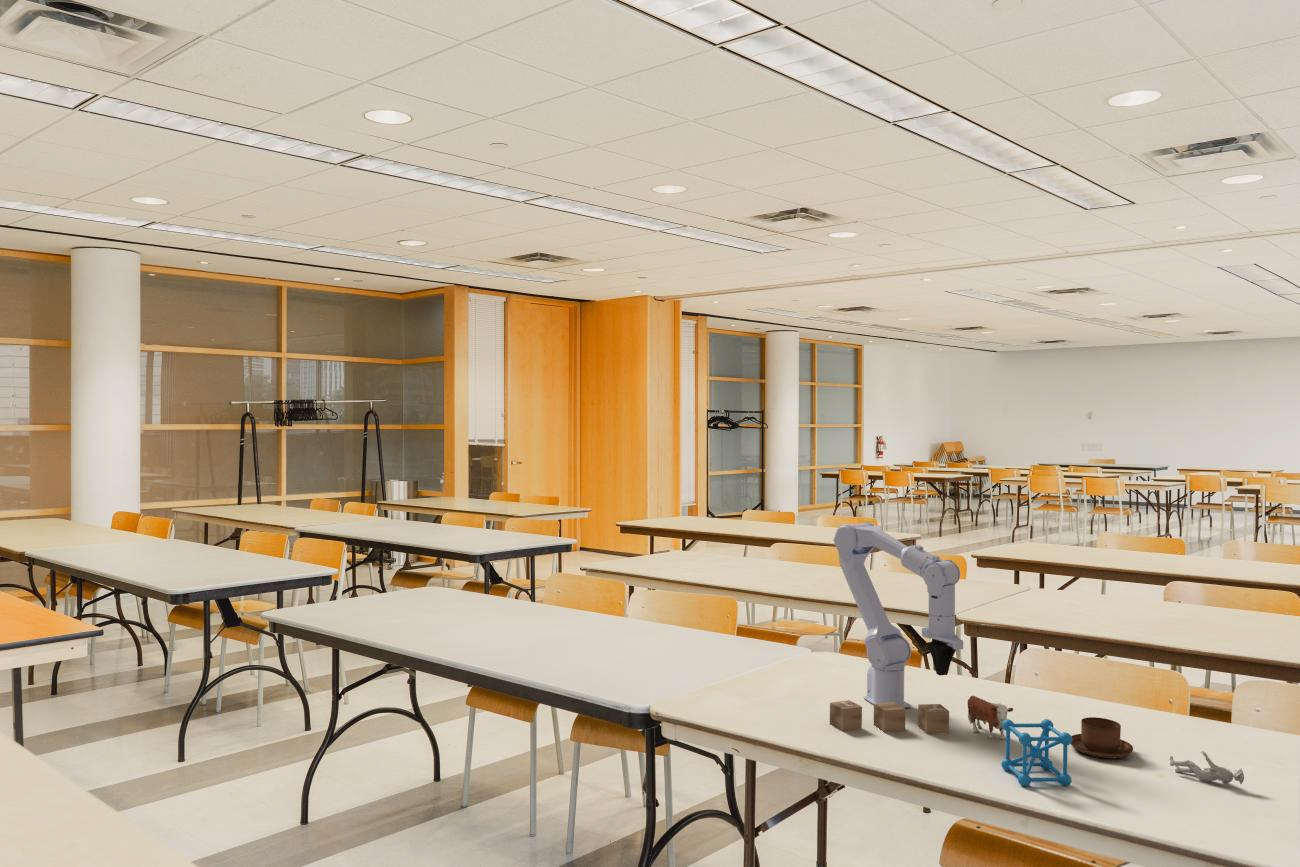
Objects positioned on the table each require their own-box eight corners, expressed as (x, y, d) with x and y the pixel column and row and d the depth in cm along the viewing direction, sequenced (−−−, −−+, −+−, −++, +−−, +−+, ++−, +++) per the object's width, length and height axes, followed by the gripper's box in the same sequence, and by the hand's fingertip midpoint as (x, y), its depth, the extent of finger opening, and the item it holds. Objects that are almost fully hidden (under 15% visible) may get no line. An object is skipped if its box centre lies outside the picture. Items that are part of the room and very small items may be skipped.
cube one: (829, 724, 211) (829, 702, 211) (848, 722, 213) (848, 699, 213) (842, 731, 207) (842, 708, 207) (861, 729, 209) (862, 706, 209)
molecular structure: (1049, 768, 186) (1050, 717, 186) (1073, 788, 176) (1074, 734, 176) (999, 768, 186) (1000, 717, 186) (1020, 788, 176) (1021, 735, 176)
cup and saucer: (1077, 738, 204) (1078, 710, 204) (1139, 751, 196) (1139, 721, 196) (1061, 753, 195) (1061, 723, 195) (1124, 767, 187) (1125, 736, 187)
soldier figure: (1183, 772, 187) (1250, 769, 179) (1183, 795, 184) (1252, 792, 176) (1165, 750, 185) (1233, 745, 177) (1166, 773, 181) (1235, 769, 173)
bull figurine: (1000, 747, 198) (1000, 708, 198) (962, 726, 211) (963, 690, 211) (1018, 745, 199) (1018, 706, 199) (979, 725, 212) (980, 688, 212)
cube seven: (917, 726, 211) (918, 704, 211) (939, 726, 211) (940, 703, 211) (926, 734, 206) (926, 711, 206) (948, 733, 206) (949, 710, 206)
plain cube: (873, 725, 211) (873, 703, 211) (894, 724, 212) (894, 702, 212) (884, 733, 206) (884, 710, 206) (905, 731, 207) (905, 708, 207)
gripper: (909, 609, 221) (910, 667, 221) (942, 621, 207) (942, 683, 207) (937, 607, 222) (937, 665, 223) (971, 620, 208) (971, 681, 208)
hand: (941, 674), depth 215 cm, fingers closed
